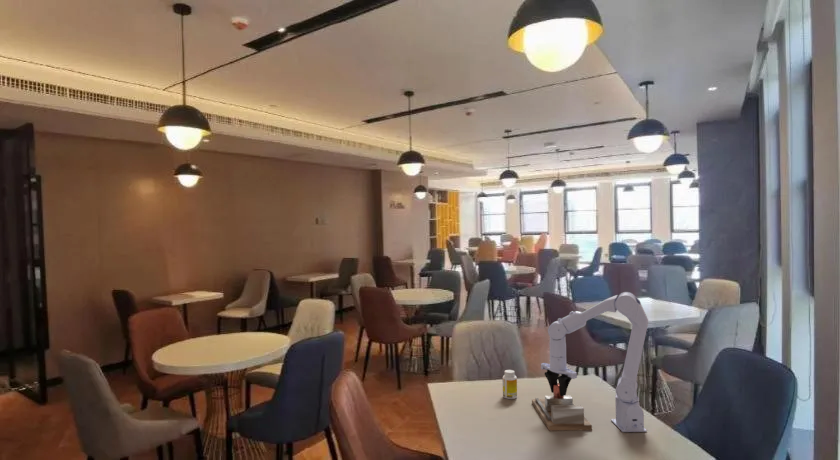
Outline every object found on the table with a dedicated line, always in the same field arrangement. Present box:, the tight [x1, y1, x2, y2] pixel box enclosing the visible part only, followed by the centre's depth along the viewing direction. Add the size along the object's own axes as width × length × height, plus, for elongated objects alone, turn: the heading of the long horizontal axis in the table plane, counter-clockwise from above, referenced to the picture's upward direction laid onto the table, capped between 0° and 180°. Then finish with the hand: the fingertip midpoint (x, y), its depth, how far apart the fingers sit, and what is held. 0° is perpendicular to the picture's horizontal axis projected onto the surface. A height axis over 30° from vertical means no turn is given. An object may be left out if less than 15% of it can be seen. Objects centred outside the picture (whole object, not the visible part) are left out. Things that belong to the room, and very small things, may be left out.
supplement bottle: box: [502, 369, 518, 400], centre depth 185 cm, size 6×6×10 cm
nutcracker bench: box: [531, 397, 593, 431], centre depth 166 cm, size 24×14×6 cm, turn 0°
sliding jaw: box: [544, 382, 574, 411], centre depth 167 cm, size 4×9×9 cm, turn 90°
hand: (558, 393), depth 167 cm, fingers closed on sliding jaw, 3 cm apart
